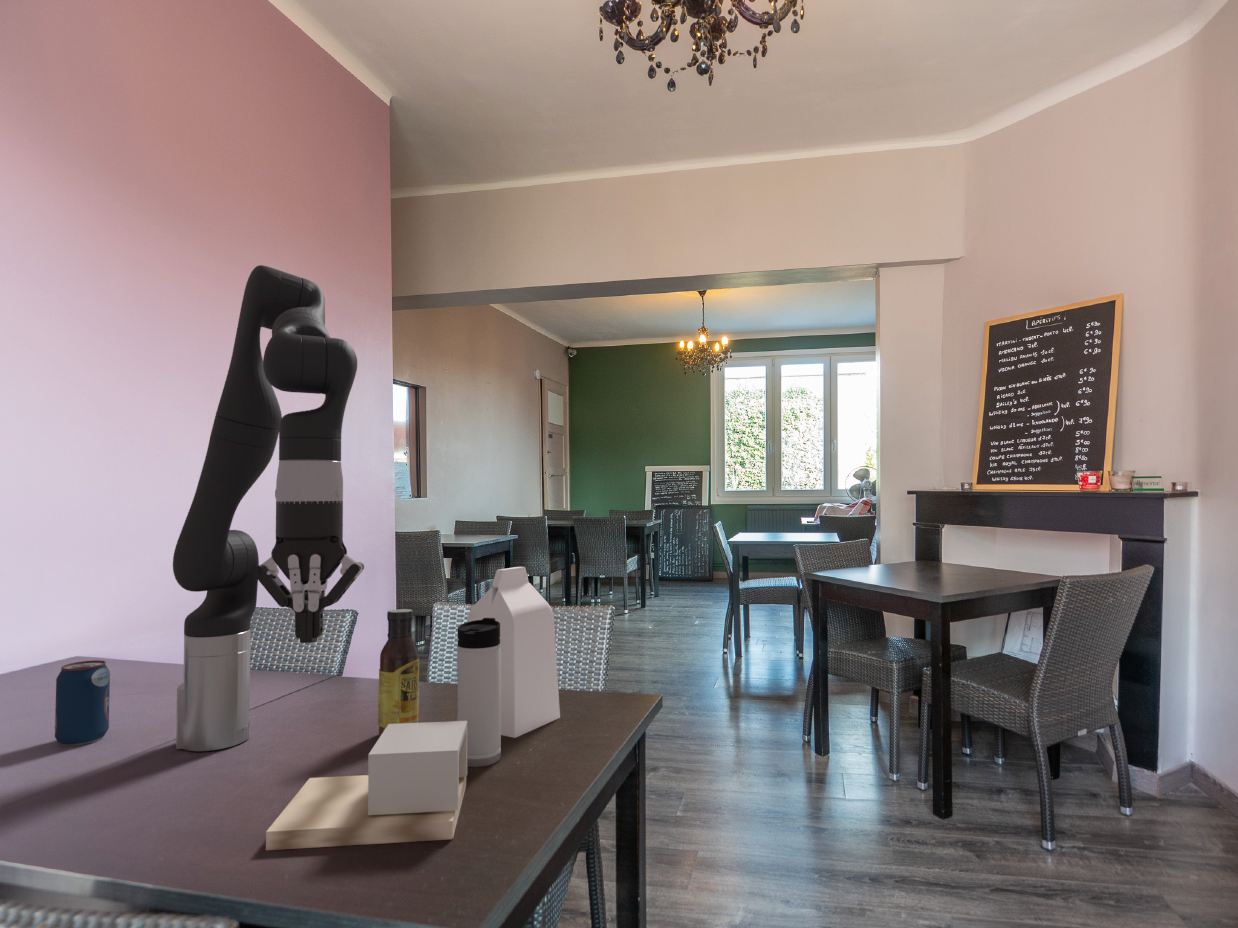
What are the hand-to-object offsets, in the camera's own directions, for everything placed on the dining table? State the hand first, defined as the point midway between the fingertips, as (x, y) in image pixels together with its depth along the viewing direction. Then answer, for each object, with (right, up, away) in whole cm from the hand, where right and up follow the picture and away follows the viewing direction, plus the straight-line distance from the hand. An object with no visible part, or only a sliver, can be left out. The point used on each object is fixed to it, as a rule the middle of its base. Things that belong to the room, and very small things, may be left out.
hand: (308, 641), depth 87 cm
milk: (+19, -23, +35) cm, 46 cm away
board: (+8, -21, 0) cm, 22 cm away
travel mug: (+17, -22, +18) cm, 33 cm away
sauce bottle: (+2, -23, +29) cm, 37 cm away
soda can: (-48, -23, +28) cm, 60 cm away
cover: (+13, -19, +1) cm, 23 cm away
